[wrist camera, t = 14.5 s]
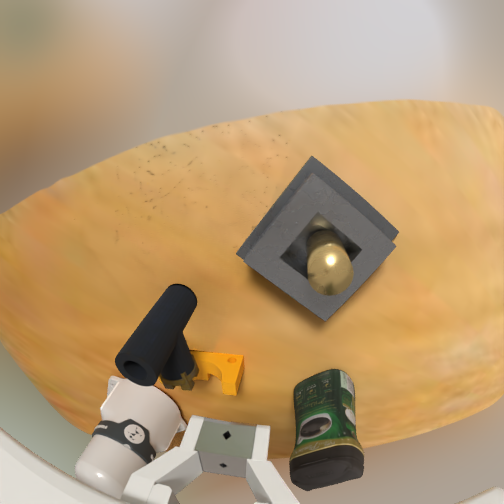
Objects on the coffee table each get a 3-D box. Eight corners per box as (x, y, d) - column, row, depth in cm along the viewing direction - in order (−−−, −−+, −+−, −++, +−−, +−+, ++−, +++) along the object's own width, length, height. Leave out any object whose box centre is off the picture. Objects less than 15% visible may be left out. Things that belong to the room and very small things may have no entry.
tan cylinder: (326, 271, 34) (332, 303, 27) (298, 250, 34) (298, 278, 26) (349, 245, 33) (362, 271, 25) (321, 222, 32) (328, 243, 25)
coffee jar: (310, 408, 44) (306, 498, 26) (287, 383, 42) (275, 482, 25) (360, 387, 41) (373, 481, 23) (340, 360, 39) (351, 464, 22)
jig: (320, 313, 37) (322, 333, 33) (237, 251, 36) (228, 265, 32) (397, 230, 32) (410, 241, 27) (311, 155, 31) (313, 155, 26)
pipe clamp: (176, 365, 45) (162, 390, 39) (172, 346, 44) (156, 371, 38) (244, 374, 43) (237, 402, 37) (243, 354, 42) (235, 383, 36)
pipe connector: (212, 346, 42) (184, 422, 29) (182, 346, 43) (147, 416, 30) (192, 282, 38) (147, 354, 24) (159, 284, 39) (106, 351, 25)
